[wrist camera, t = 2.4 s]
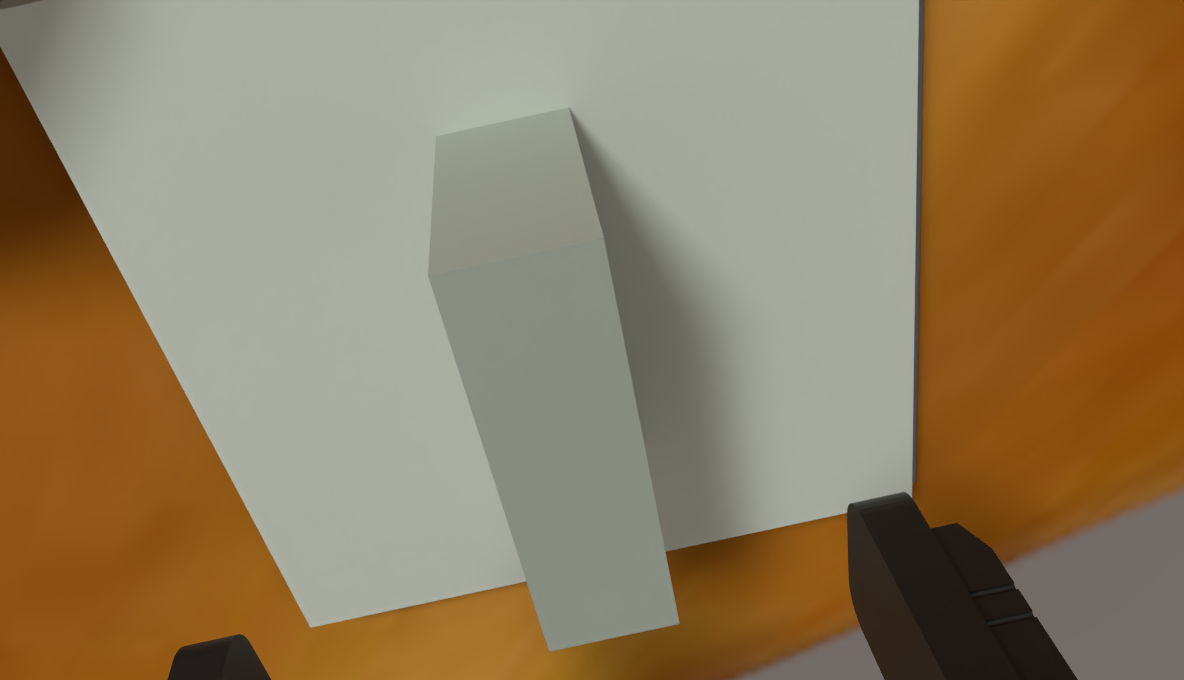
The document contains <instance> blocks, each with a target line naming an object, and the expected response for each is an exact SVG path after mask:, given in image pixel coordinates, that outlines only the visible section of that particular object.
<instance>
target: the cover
mask: <svg viewBox="0 0 1184 680" xmlns="http://www.w3.org/2000/svg"><path fill="white" fill-rule="evenodd" d="M918 34H919V0H3V1H2V2H0V47H1V49H2V51H3V53H4V54H5V56H6V58H7V60H8V62H9V64H10V66H11V68H12V69H13V71H14V73H15V75H16V77H17V79H18V81H19V83H20V84H21V86H22V88H23V90H24V92H25V94H26V96H27V98H28V99H29V101H30V103H31V105H32V107H33V109H34V111H35V113H36V114H37V116H38V118H39V120H40V122H41V124H42V126H43V128H44V129H45V131H46V133H47V135H48V137H49V139H50V141H51V143H52V144H53V146H54V148H55V150H56V152H57V154H58V156H59V157H60V159H61V161H62V163H63V165H64V167H65V169H66V171H67V172H68V174H69V176H70V178H71V180H72V182H73V184H74V186H75V187H76V189H77V191H78V193H79V195H80V197H81V199H82V201H83V202H84V204H85V206H86V208H87V210H88V212H89V214H90V216H91V217H92V219H93V221H94V223H95V225H96V227H97V229H98V231H99V232H100V234H101V236H102V238H103V240H104V242H105V244H106V246H107V247H108V249H109V251H110V253H111V255H112V257H113V259H114V260H115V262H116V264H117V266H118V268H119V270H120V272H121V274H122V275H123V277H124V279H125V281H126V283H127V285H128V287H129V289H130V290H131V292H132V294H133V296H134V298H135V300H136V302H137V304H138V305H139V307H140V309H141V311H142V313H143V315H144V317H145V319H146V320H147V322H148V324H149V326H150V328H151V330H152V332H153V334H154V335H155V337H156V339H157V341H158V343H159V345H160V347H161V349H162V350H163V352H164V354H165V356H166V358H167V360H168V362H169V363H170V365H171V367H172V369H173V371H174V373H175V375H176V377H177V378H178V380H179V382H180V384H181V386H182V388H183V390H184V392H185V393H186V395H187V397H188V399H189V401H190V403H191V405H192V407H193V408H194V410H195V412H196V414H197V416H198V418H199V420H200V422H201V423H202V425H203V427H204V429H205V431H206V433H207V435H208V437H209V438H210V440H211V442H212V444H213V446H214V448H215V450H216V452H217V453H218V455H219V457H220V459H221V461H222V463H223V465H224V466H225V468H226V470H227V472H228V474H229V476H230V478H231V480H232V481H233V483H234V485H235V487H236V489H237V491H238V493H239V495H240V496H241V498H242V500H243V502H244V504H245V506H246V508H247V510H248V511H249V513H250V515H251V517H252V519H253V521H254V523H255V525H256V526H257V528H258V530H259V532H260V534H261V536H262V538H263V540H264V541H265V543H266V545H267V547H268V549H269V551H270V553H271V555H272V556H273V558H274V560H275V562H276V564H277V566H278V568H279V569H280V571H281V573H282V575H283V577H284V579H285V581H286V583H287V584H288V586H289V588H290V590H291V592H292V594H293V596H294V598H295V599H296V601H297V603H298V605H299V607H300V609H301V611H302V613H303V614H304V616H305V618H306V620H307V622H308V624H309V626H310V628H311V627H315V626H320V625H325V624H330V623H334V622H339V621H344V620H348V619H353V618H358V617H362V616H367V615H372V614H376V613H381V612H386V611H390V610H395V609H400V608H404V607H409V606H414V605H418V604H423V603H428V602H432V601H437V600H442V599H446V598H451V597H456V596H460V595H465V594H470V593H475V592H479V591H484V590H489V589H493V588H498V587H503V586H507V585H512V584H517V583H521V582H526V581H527V584H528V587H529V590H530V593H531V597H532V600H533V603H534V606H535V609H536V612H537V615H538V618H539V621H540V624H541V627H542V631H543V634H544V637H545V640H546V643H547V646H548V649H549V652H550V651H554V650H559V649H564V648H568V647H573V646H578V645H582V644H587V643H592V642H596V641H601V640H606V639H611V638H615V637H620V636H625V635H629V634H634V633H639V632H643V631H648V630H653V629H657V628H662V627H667V626H671V625H676V624H679V619H678V613H677V608H676V603H675V598H674V593H673V588H672V583H671V578H670V573H669V568H668V562H667V557H666V551H671V550H676V549H680V548H685V547H690V546H694V545H699V544H704V543H708V542H713V541H718V540H722V539H727V538H732V537H736V536H741V535H746V534H750V533H755V532H760V531H765V530H769V529H774V528H779V527H783V526H788V525H793V524H797V523H802V522H807V521H811V520H816V519H821V518H825V517H830V516H835V515H839V514H844V513H847V509H848V505H849V504H850V503H855V502H859V501H864V500H869V499H873V498H878V497H882V496H887V495H892V494H896V493H901V492H906V493H907V494H909V495H910V496H911V498H912V462H913V391H914V320H915V248H916V177H917V106H918Z"/></svg>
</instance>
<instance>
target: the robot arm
mask: <svg viewBox="0 0 1184 680" xmlns="http://www.w3.org/2000/svg"><path fill="white" fill-rule="evenodd" d="M847 529H848V566H849V585H850V592H851V597H852V601H853V605H854V609H855V612H856V615H857V618H858V621H859V624H860V626H861V629H862V631H863V633H864V635H865V638H866V640H867V642H868V644H869V646H870V648H871V651H872V653H873V655H874V657H875V659H876V662H877V664H878V666H879V668H880V670H881V673H882V675H883V677H884V679H885V680H1077V678H1076V677H1075V675H1074V673H1073V672H1072V670H1071V669H1070V667H1069V666H1068V664H1067V663H1066V661H1065V660H1064V658H1063V657H1062V655H1061V654H1060V652H1059V651H1058V649H1057V648H1056V646H1055V644H1054V643H1053V641H1052V640H1051V638H1050V637H1049V635H1048V634H1047V632H1046V631H1045V629H1044V628H1043V626H1042V625H1041V623H1040V622H1039V620H1038V618H1037V617H1034V616H1033V613H1032V609H1031V608H1030V606H1029V605H1028V603H1027V602H1026V600H1025V599H1024V597H1023V595H1022V594H1021V592H1020V591H1019V589H1017V590H1016V588H1015V586H1014V582H1013V580H1012V579H1011V577H1010V576H1009V574H1008V573H1007V571H1006V569H1005V568H1004V566H1003V565H1002V563H1001V562H1000V560H999V559H998V557H997V556H996V554H995V553H994V551H993V550H992V548H990V547H989V546H988V545H986V544H985V543H983V542H982V541H981V540H979V539H978V538H977V537H975V536H974V535H973V534H971V533H970V532H969V531H967V530H966V529H965V528H963V527H962V526H960V525H959V524H958V523H955V524H950V525H946V526H941V527H936V528H932V529H930V527H929V525H928V524H927V522H926V520H925V519H924V517H923V515H922V514H921V512H920V510H919V509H918V507H917V505H916V504H915V502H914V500H913V499H912V498H911V496H910V495H909V494H907V493H906V492H901V493H896V494H892V495H887V496H882V497H878V498H873V499H869V500H864V501H859V502H855V503H850V504H849V505H848V509H847ZM168 680H271V679H270V677H269V675H268V673H267V672H266V670H265V668H264V666H263V665H262V663H261V661H260V659H259V658H258V656H257V654H256V653H255V651H254V649H253V647H252V646H251V644H250V642H249V641H248V639H247V638H246V637H245V636H243V635H240V634H238V635H234V636H229V637H224V638H220V639H215V640H211V641H206V642H201V643H197V644H192V645H188V646H184V647H182V648H180V649H179V650H178V652H177V653H176V655H175V657H174V660H173V663H172V666H171V670H170V673H169V677H168Z"/></svg>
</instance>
